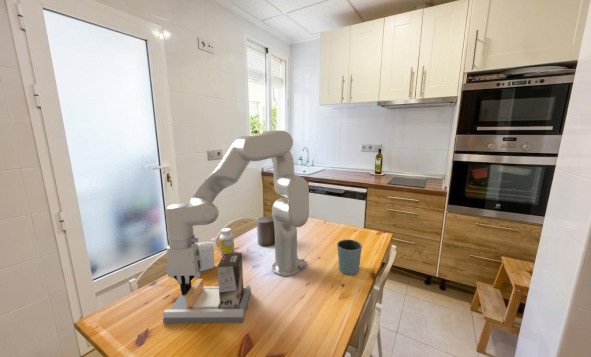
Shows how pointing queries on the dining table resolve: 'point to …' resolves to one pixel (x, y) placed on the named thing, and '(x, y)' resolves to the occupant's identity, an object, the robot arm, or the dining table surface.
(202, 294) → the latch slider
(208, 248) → the photo printer
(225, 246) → the supplement bottle
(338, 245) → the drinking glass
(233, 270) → the coffee box
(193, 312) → the rail board
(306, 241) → the dining table surface
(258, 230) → the pillar candle
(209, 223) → the robot arm
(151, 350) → the dining table surface
